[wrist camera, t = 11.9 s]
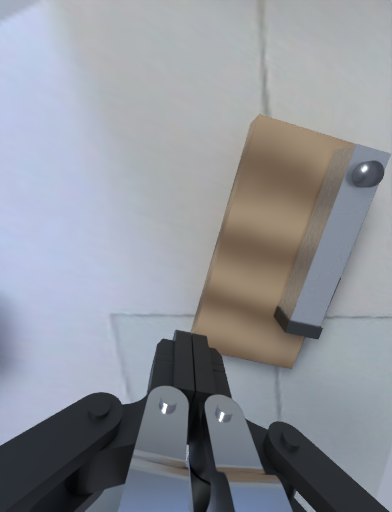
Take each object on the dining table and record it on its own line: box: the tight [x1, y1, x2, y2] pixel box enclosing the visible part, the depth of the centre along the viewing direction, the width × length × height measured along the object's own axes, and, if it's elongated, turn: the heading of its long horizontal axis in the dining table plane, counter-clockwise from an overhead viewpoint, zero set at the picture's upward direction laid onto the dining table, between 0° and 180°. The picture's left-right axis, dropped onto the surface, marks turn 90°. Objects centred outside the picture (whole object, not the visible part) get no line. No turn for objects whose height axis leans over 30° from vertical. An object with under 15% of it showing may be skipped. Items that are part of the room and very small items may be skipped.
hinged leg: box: [274, 144, 391, 339], centre depth 23 cm, size 17×3×4 cm, turn 166°
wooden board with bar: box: [191, 114, 355, 369], centre depth 26 cm, size 24×12×4 cm, turn 165°
